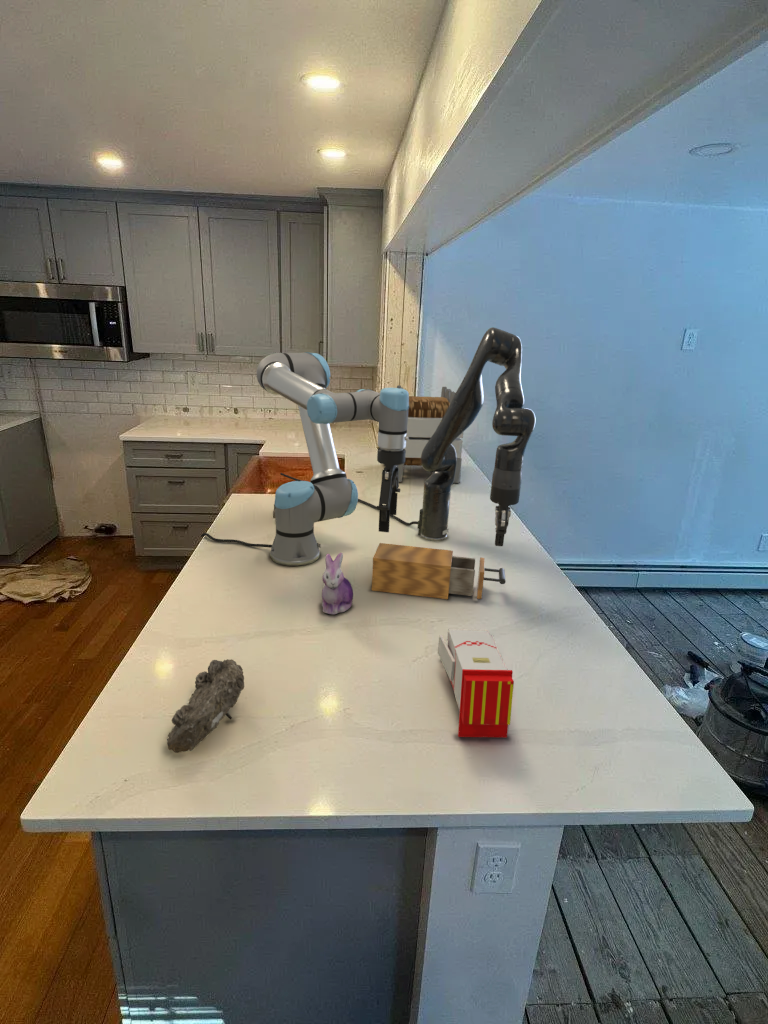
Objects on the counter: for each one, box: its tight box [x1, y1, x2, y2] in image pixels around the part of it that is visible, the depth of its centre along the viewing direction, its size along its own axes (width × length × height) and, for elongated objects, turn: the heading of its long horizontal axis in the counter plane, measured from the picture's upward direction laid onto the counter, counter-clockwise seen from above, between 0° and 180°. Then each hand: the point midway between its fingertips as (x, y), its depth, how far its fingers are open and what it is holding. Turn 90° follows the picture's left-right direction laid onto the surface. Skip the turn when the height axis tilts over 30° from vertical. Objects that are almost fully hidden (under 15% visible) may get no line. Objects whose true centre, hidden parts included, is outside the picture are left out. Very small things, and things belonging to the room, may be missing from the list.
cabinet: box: [371, 542, 454, 600], centre depth 161 cm, size 21×11×10 cm, turn 81°
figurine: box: [321, 552, 354, 615], centre depth 147 cm, size 9×10×15 cm
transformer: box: [383, 384, 464, 484], centre depth 268 cm, size 34×33×41 cm
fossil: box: [166, 658, 245, 754], centre depth 106 cm, size 22×10×15 cm
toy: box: [437, 628, 515, 738], centre depth 117 cm, size 12×13×30 cm
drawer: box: [449, 555, 506, 600], centre depth 159 cm, size 26×10×8 cm, turn 81°
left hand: (387, 522), depth 158 cm, fingers open, 13 cm apart
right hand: (498, 545), depth 154 cm, fingers closed
